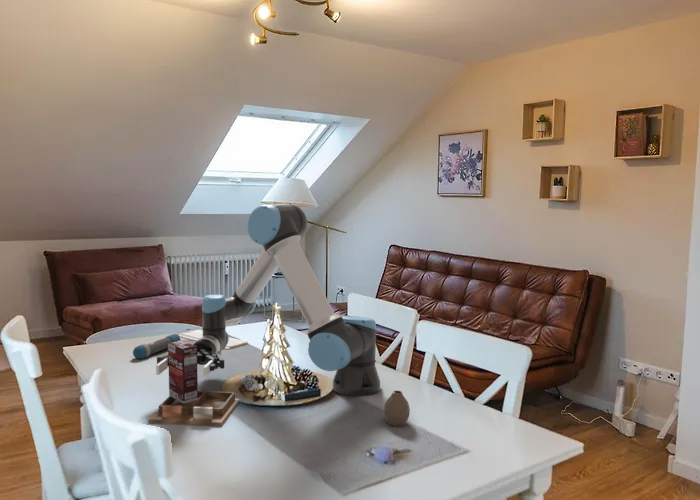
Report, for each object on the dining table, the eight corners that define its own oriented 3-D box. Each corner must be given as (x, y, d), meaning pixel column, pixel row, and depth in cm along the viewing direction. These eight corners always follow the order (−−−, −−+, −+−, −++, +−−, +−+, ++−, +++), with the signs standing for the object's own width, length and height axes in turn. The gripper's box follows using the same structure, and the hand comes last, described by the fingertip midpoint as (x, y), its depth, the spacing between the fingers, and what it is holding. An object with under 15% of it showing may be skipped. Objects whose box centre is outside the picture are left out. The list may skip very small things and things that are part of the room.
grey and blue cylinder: (180, 346, 230) (180, 334, 230) (141, 361, 210) (140, 348, 210) (170, 345, 232) (170, 333, 232) (130, 359, 212) (130, 346, 212)
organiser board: (239, 401, 172) (239, 388, 171) (221, 426, 154) (221, 411, 154) (173, 398, 173) (173, 385, 173) (148, 422, 156) (148, 408, 155)
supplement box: (168, 396, 167) (167, 342, 165) (183, 392, 170) (182, 339, 169) (183, 404, 161) (182, 348, 159) (198, 400, 164) (198, 345, 163)
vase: (388, 429, 154) (389, 397, 153) (380, 419, 160) (381, 388, 159) (413, 426, 156) (414, 395, 155) (404, 417, 162) (404, 386, 161)
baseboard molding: (224, 351, 225) (247, 345, 235) (224, 344, 225) (247, 338, 235) (175, 338, 244) (198, 333, 254) (175, 331, 244) (198, 326, 253)
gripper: (243, 363, 184) (224, 385, 163) (166, 360, 185) (138, 382, 164) (243, 339, 183) (224, 359, 162) (166, 337, 185) (137, 356, 163)
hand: (181, 371), depth 163 cm, fingers open, 13 cm apart
